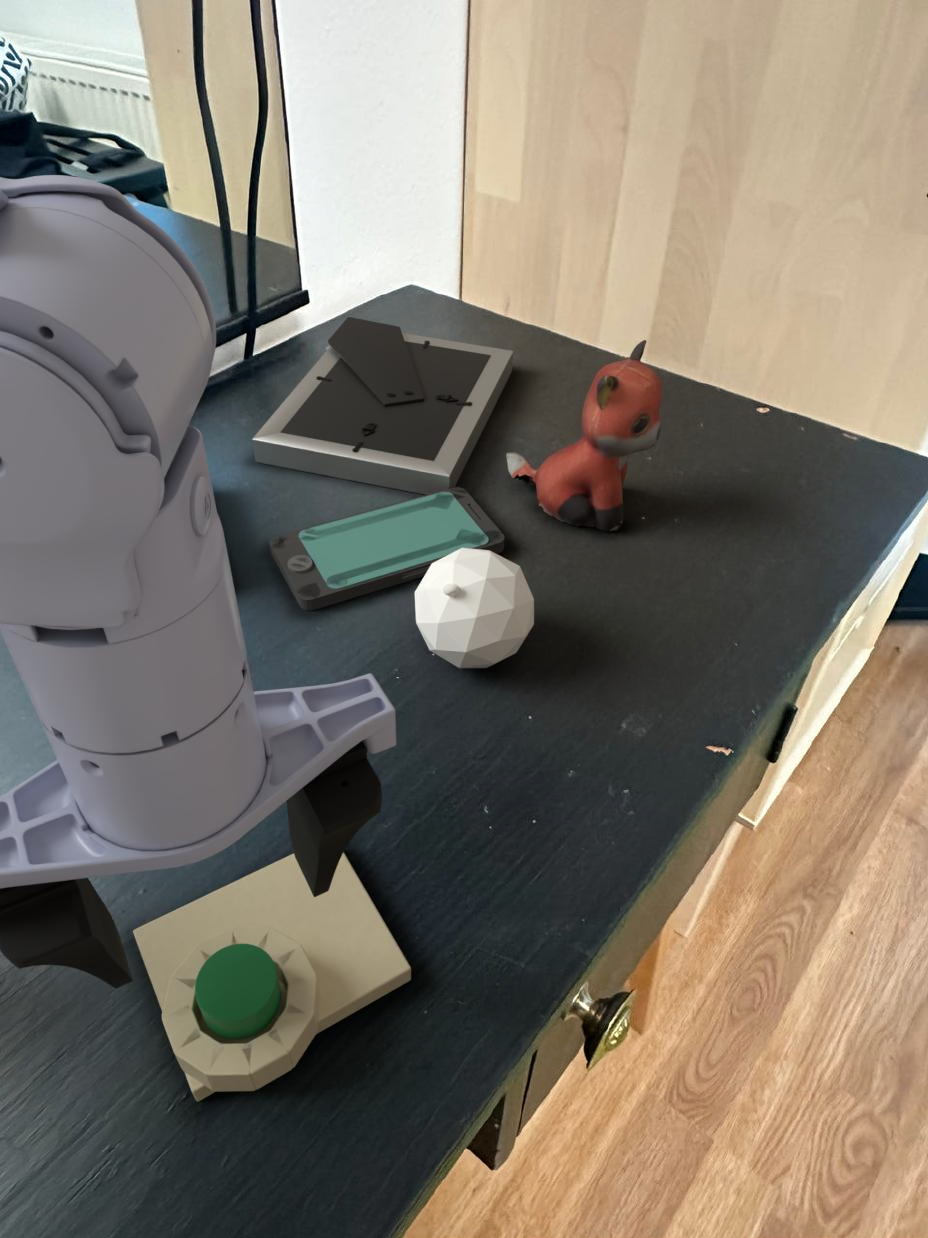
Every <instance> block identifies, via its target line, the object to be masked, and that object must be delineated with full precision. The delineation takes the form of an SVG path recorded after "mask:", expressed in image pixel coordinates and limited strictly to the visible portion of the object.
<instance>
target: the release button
mask: <svg viewBox="0 0 928 1238" xmlns="http://www.w3.org/2000/svg"><path fill="white" fill-rule="evenodd" d="M195 995H196V1000H197V1003H198V1005H199V1008H200V1010H201V1013H202V1015H203V1018H204V1020H205V1022H206V1024H207V1026H208V1027H209V1028H210V1029H211V1030H212V1031H213V1032H214V1033H215V1034H217V1035H218V1036H220V1037H223V1038H226V1039H234V1040H237V1039H244V1038H248V1037H251V1036H253V1035H255V1034H257V1033H259V1032H260V1031H262V1030H263V1029H264V1028H265V1027H267V1026H268V1024H269V1023H270V1022H271V1021H272V1020H273V1018H274V1017H275V1015H276V1013H277V1011H278V1009H279V1006H280V1001H281V988H280V983H279V979H278V975H277V971H276V967H275V964H274V962H273V960H272V958H271V957H270V956H269V954H268V953H267V952H266V951H264V950H263V949H261V948H259V947H257V946H254V945H251V944H234V945H230V946H227V947H224V948H222V949H220V950H219V951H217V952H216V953H214V954H213V955H212V956H211V957H209V958H208V960H207V961H206V962H205V963H204V964H203V966H202V967H201V969H200V971H199V973H198V976H197V979H196V983H195Z"/></svg>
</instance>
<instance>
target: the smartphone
mask: <svg viewBox="0 0 928 1238" xmlns="http://www.w3.org/2000/svg"><path fill="white" fill-rule="evenodd" d="M269 547H270V555H271V556H272V558H273V560H274V561H275V564H276V566H277V567H278V569H279V571H280V573H281V574H282V576H283V578H284V580H285V582H286V584H287V586H288V587H289V589H290V592H292V595H293V597H294V599H295V600H296V603H297V605H298V606H299V607H300V609H301V610H304V611H307V612H309V611H312V612H313V611H315V610H318V609H322V608H325V607H329V606H331V605H335V604H338V603H342V602H345V601H348V600H352V599H354V598H357V597H361V596H364V595H367V594H371V593H374V592H377V591H381V590H384V589H387V588H390V587H393V586H396V585H400V584H404V583H406V582H410V581H413V580H416V579H419V578H422V577H423V578H424V576H425V574H426V573H427V571H428V569H429V567H430V566H431V564H432V563H434V562H436V561H438V560H440V559H441V558H443V557H445V556H447V555H449V554H451V553H453V552H455V551H457V550H459V549H461V548H470V549H480V550H490V551H492V552H493V553H495V554H497V555H499V554H501V553H502V552H503V551H504V548H505V535H504V533H502V531H501V530H500V528H499V527H498V526H497V525H496V524H495V523H494V522H493V520H492V519H491V518H490V517H489V516H488V515H487V514H486V512H485V511H484V510H483V509H482V508H481V506H480V505H479V503H477V501H476V500H474V498H473V497H472V496H471V495H470V494H469V493H468V491H467V490H466V489H465V488H463V487H459V486H455V487H454V488H450V489H447V490H443V491H439V492H436V493H432V494H428V495H422V496H419V497H418V496H417V497H414V498H411V499H406V500H403V501H399V502H396V503H391V504H389V505H385V506H381V507H377V508H373V509H369V510H366V511H363V512H359V513H355V514H352V515H348V516H344V517H340V518H337V519H333V520H329V521H326V522H322V523H319V524H315V525H310V526H308V527H304V528H301V529H297V530H293V531H289V532H286V533H281V534H278V535H274V536H273V537H271V539H270V540H269Z"/></svg>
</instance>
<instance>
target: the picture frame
mask: <svg viewBox="0 0 928 1238" xmlns="http://www.w3.org/2000/svg"><path fill="white" fill-rule="evenodd" d="M327 343H328V344H329V347H328V348H327V350H326V351H325V352H324V353H323V354H322V355H321V357H320V358H319V359H318V360H317V362H316V363H315V364H314V365H313V366H312V367H311V369H310V370H309V371H308V372H307V373H306V375H305V376H304V377H303V378H302V379H301V381H300V382H299V383H298V384H297V385H296V386H295V387H294V389H293V390H292V391H291V392H290V394H289V395H288V396H287V397H286V398H285V399H284V401H283V402H282V403H281V404H280V405H279V406H278V408H277V409H276V410H275V411H274V413H273V414H272V415H271V416H270V417H269V418H268V420H267V421H266V422H265V423H264V424H263V425H262V427H261V428H260V429H259V430H258V431H257V432H256V434H255V435H254V436H253V437H252V439H251V443H252V448H253V457H254V462H255V463H259V464H264V465H269V466H275V467H280V468H284V469H290V470H295V471H301V472H305V473H311V474H316V475H320V476H325V477H331V478H337V479H341V480H345V481H346V480H347V481H353V482H356V483H357V482H358V483H361V484H362V483H363V484H366V485H367V484H368V485H373V486H378V487H383V488H388V489H393V490H398V491H404V492H409V493H414V494H419V495H423V496H425V495H428V494H432V493H436V492H439V491H443V490H447V489H450V488H454V487H456V485H457V483H458V482H459V479H460V477H461V475H462V473H463V471H464V469H465V468H466V465H467V463H468V461H469V459H470V457H471V455H472V453H473V451H474V449H475V447H476V445H477V443H478V441H479V439H480V437H481V434H482V432H483V431H484V429H485V426H486V425H487V423H488V421H489V419H490V416H491V415H492V413H493V411H494V408H495V407H496V405H497V403H498V400H499V399H500V396H501V394H502V392H503V391H504V389H505V386H506V385H507V382H508V380H509V378H510V377H511V374H512V372H513V359H514V350H509V349H504V348H498V347H491V346H486V345H479V344H472V343H467V342H460V341H454V340H448V339H443V338H435V337H429V336H423V335H416V334H412V333H411V334H410V333H405V332H402V329H401V327H400V326H398V325H394V324H393V325H392V324H387V323H383V322H377V321H372V320H367V319H362V318H357V317H353V316H348V317H346V319H345V320H344V321H343V322H342V323H341V324H340V325H339V327H338V328H337V329H336V330H335V332H334V333H333V334H332V335H331V336H330V337H329V339H328V340H327Z"/></svg>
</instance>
